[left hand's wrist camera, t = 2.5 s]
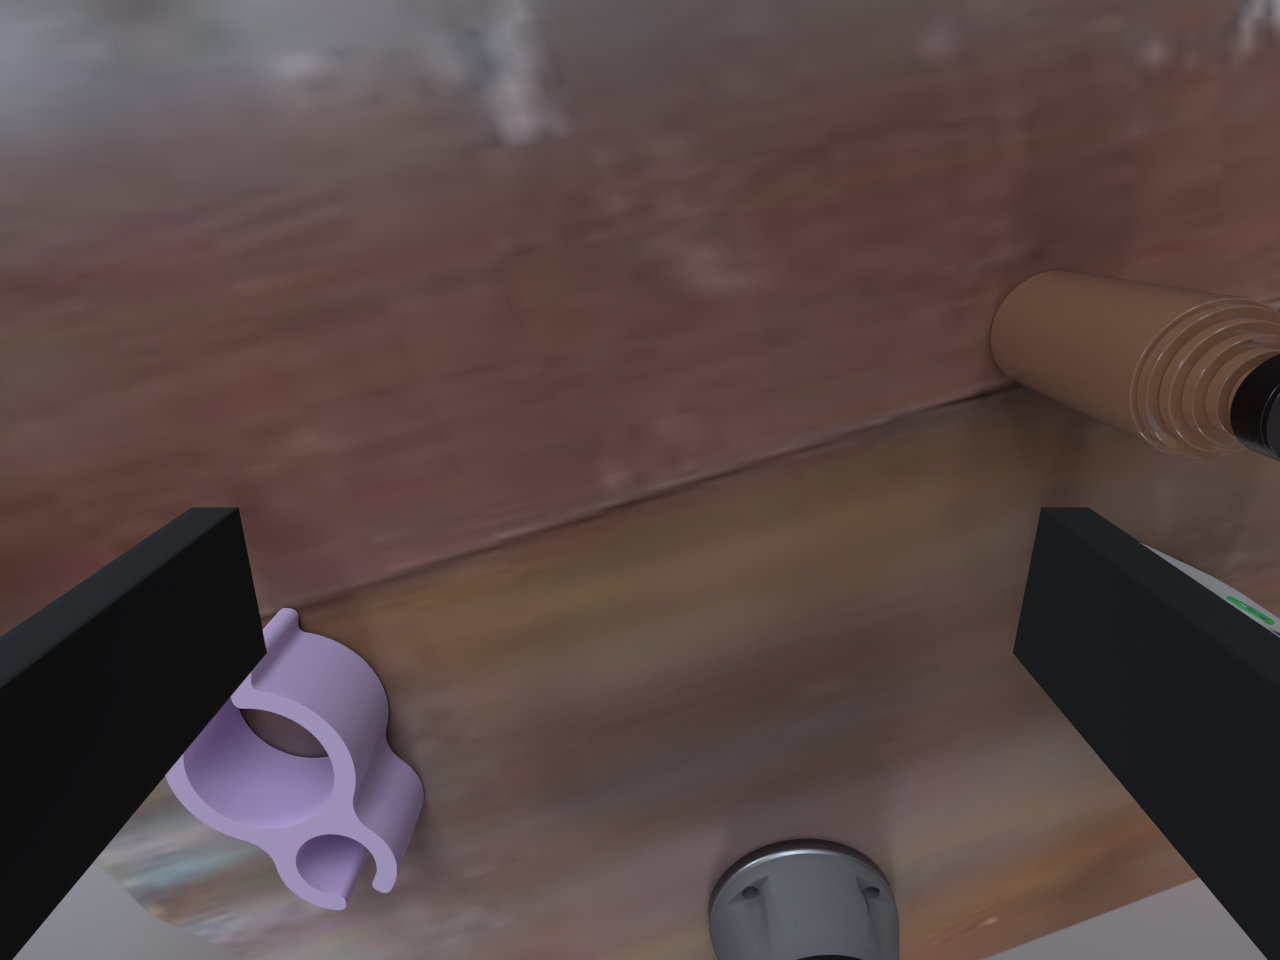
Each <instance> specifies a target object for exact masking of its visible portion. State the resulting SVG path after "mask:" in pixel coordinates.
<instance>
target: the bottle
mask: <svg viewBox="0 0 1280 960" xmlns="http://www.w3.org/2000/svg"><path fill="white" fill-rule="evenodd" d="M990 344H991V351H992V355H993V357H994V360H995V362H996V364H997V366H998V367H999V369H1000V370H1001V371H1002V372H1003V373H1004V374H1005V375H1006V376H1007V377H1008V378H1010V379H1011V380H1013V381H1014V382H1016V383H1018V384H1020V385H1023V386H1025V387H1027V388H1029V389H1031V390H1033V391H1035V392H1037V393H1039V394H1042V395H1044V396H1046V397H1048V398H1050V399H1052V400H1054V401H1056V402H1058V403H1060V404H1063V405H1065V406H1067V407H1069V408H1071V409H1073V410H1075V411H1077V412H1079V413H1081V414H1084V415H1086V416H1088V417H1090V418H1092V419H1094V420H1096V421H1098V422H1100V423H1103V424H1105V425H1107V426H1109V427H1111V428H1113V429H1115V430H1117V431H1119V432H1121V433H1124V434H1126V435H1128V436H1130V437H1132V438H1134V439H1136V440H1138V441H1140V442H1143V443H1145V444H1147V445H1149V446H1151V447H1153V448H1155V449H1157V450H1159V451H1161V452H1164V453H1166V454H1169V455H1172V456H1177V457H1182V458H1217V457H1222V456H1227V455H1230V454H1234V453H1237V452H1239V451H1242V450H1244V449H1246V448H1247V447H1245V446H1244V445H1243V444H1241V443H1240V441H1239V440H1238V439H1237V438H1236V436H1235V435H1234V433H1233V430H1232V427H1231V423H1230V409H1231V404H1232V401H1233V398H1234V395H1235V393H1236V391H1237V389H1238V388H1239V386H1240V384H1241V383H1242V382H1243V380H1244V379H1245V378H1246V376H1247V375H1248V374H1249V373H1250V372H1251V371H1252V370H1254V369H1255V368H1256V367H1257V366H1258V365H1260V364H1261V363H1263V362H1264V361H1266V360H1268V359H1269V358H1271V357H1274V356H1276V355H1278V354H1280V314H1279V313H1278V312H1277V311H1276V310H1274V309H1273V308H1271V307H1270V306H1268V305H1266V304H1264V303H1262V302H1259V301H1256V300H1252V299H1247V298H1241V297H1235V296H1229V295H1222V294H1216V293H1209V292H1203V291H1197V290H1190V289H1184V288H1177V287H1171V286H1164V285H1158V284H1152V283H1145V282H1139V281H1132V280H1126V279H1120V278H1113V277H1107V276H1100V275H1094V274H1088V273H1081V272H1075V271H1068V270H1052V271H1047V272H1043V273H1040V274H1037V275H1035V276H1033V277H1031V278H1029V279H1027V280H1025V281H1024V282H1022V283H1021V284H1019V285H1018V286H1017V287H1016V288H1014V289H1013V290H1012V291H1011V292H1010V293H1009V294H1008V296H1007V297H1006V298H1005V299H1004V301H1003V302H1002V304H1001V305H1000V307H999V308H998V311H997V313H996V315H995V317H994V320H993V323H992V328H991V335H990Z"/></svg>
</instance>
